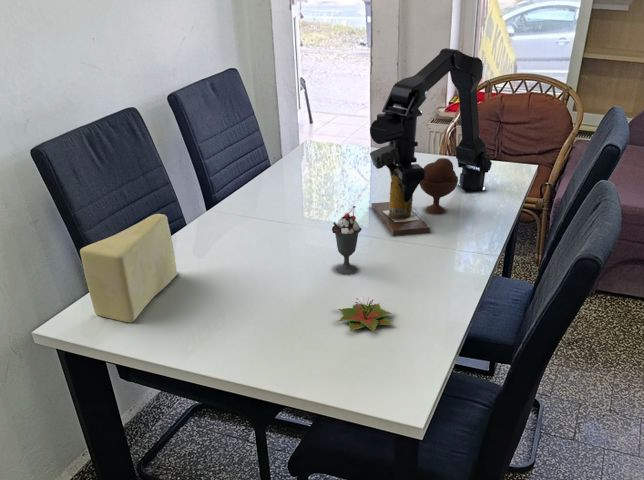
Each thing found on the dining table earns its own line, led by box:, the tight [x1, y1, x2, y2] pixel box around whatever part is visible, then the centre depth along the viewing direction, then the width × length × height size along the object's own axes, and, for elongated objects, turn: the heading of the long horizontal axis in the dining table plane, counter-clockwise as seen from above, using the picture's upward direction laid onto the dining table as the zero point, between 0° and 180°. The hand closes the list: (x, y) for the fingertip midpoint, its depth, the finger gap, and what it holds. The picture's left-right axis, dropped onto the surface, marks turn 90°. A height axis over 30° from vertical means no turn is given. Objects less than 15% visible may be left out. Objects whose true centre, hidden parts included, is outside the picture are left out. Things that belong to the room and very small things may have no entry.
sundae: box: [331, 205, 363, 275], centre depth 147 cm, size 7×7×15 cm
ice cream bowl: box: [419, 157, 459, 215], centre depth 179 cm, size 11×11×15 cm
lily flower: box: [337, 295, 394, 333], centre depth 130 cm, size 12×12×5 cm
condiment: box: [383, 169, 419, 222], centre depth 172 cm, size 7×8×12 cm
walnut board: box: [371, 201, 431, 237], centre depth 176 cm, size 10×20×2 cm, turn 15°
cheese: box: [79, 213, 178, 323], centre depth 134 cm, size 22×10×15 cm, turn 159°
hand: (400, 195), depth 173 cm, fingers open, 9 cm apart
